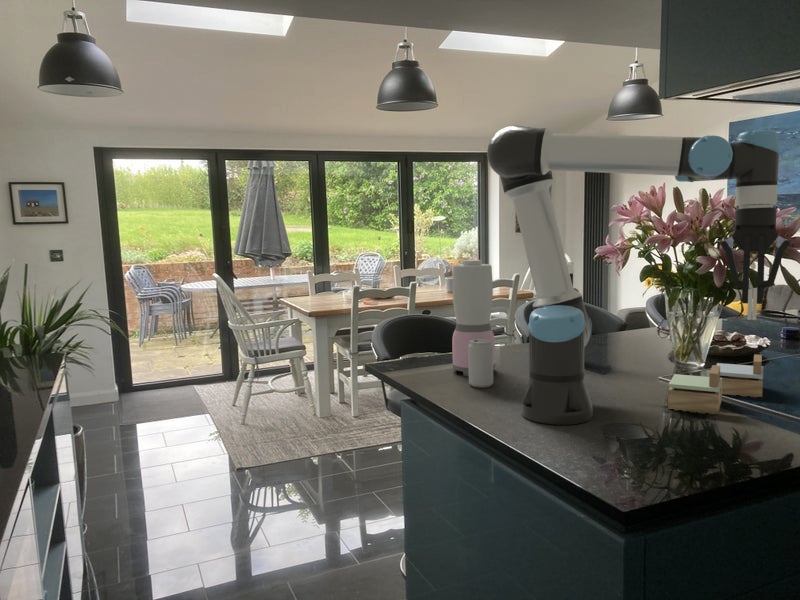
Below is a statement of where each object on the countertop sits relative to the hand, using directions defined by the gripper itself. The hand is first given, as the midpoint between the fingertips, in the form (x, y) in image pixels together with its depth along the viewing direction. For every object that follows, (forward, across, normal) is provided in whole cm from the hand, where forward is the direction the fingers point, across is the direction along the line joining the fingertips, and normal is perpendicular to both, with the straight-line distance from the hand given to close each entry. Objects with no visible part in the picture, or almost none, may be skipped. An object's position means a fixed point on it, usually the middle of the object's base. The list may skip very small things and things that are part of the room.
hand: (751, 318), depth 134 cm
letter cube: (+20, +2, -16) cm, 26 cm away
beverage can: (+21, +62, +2) cm, 65 cm away
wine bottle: (+21, +48, -36) cm, 64 cm away
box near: (+20, +10, 0) cm, 23 cm away
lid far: (+15, +2, -16) cm, 22 cm away
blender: (+21, +70, -13) cm, 75 cm away
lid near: (+15, +10, 0) cm, 19 cm away
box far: (+20, +2, -16) cm, 26 cm away
